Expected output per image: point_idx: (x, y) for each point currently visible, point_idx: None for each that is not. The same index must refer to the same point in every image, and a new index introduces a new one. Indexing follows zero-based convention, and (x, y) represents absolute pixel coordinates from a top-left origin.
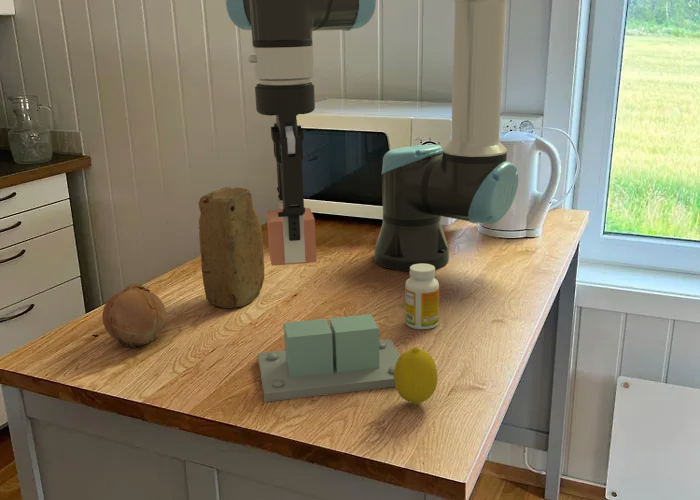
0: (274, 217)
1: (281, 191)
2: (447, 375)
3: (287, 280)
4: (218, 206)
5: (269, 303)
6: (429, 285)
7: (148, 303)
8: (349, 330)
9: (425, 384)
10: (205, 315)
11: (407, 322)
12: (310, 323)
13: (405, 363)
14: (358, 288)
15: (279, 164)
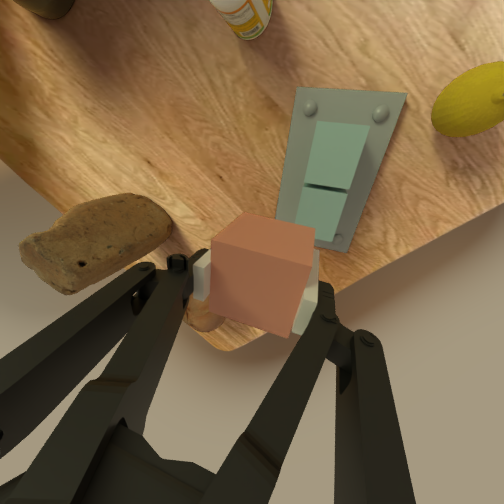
0: (259, 320)
1: (183, 311)
2: (413, 27)
3: (113, 159)
4: (85, 282)
5: (164, 192)
6: None
7: (209, 312)
8: (353, 170)
9: None
10: (181, 247)
11: (252, 37)
12: (308, 208)
13: (495, 122)
14: (134, 77)
15: (154, 390)
